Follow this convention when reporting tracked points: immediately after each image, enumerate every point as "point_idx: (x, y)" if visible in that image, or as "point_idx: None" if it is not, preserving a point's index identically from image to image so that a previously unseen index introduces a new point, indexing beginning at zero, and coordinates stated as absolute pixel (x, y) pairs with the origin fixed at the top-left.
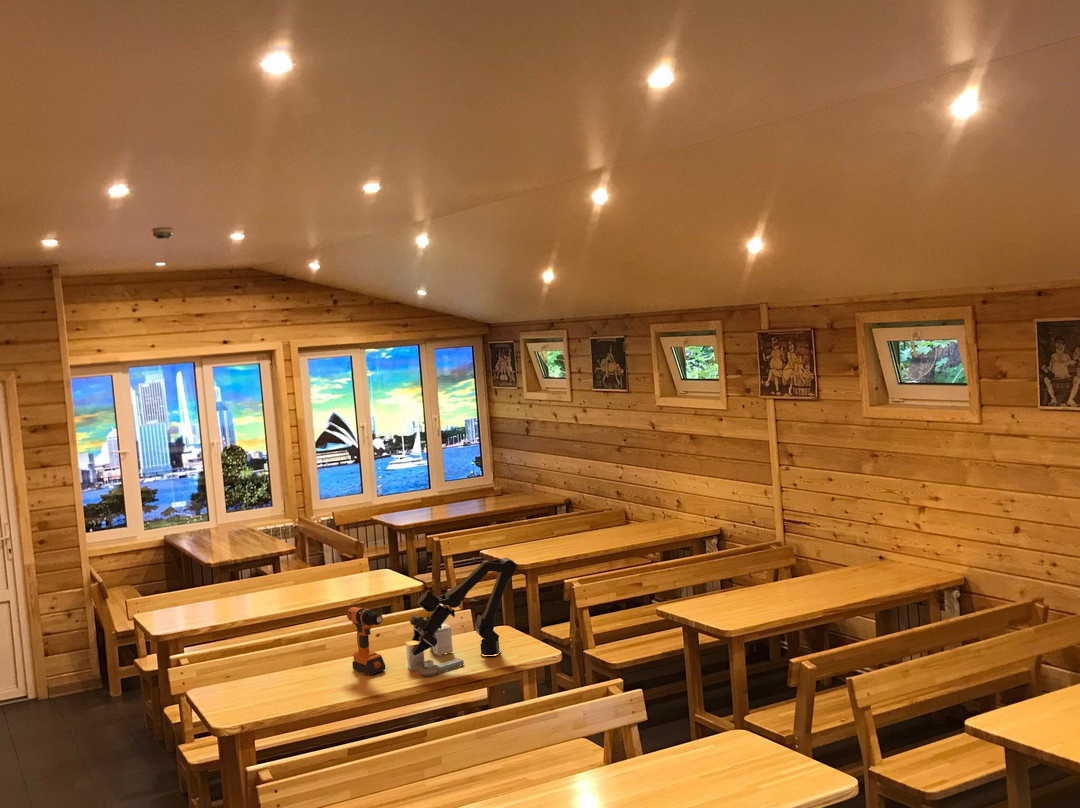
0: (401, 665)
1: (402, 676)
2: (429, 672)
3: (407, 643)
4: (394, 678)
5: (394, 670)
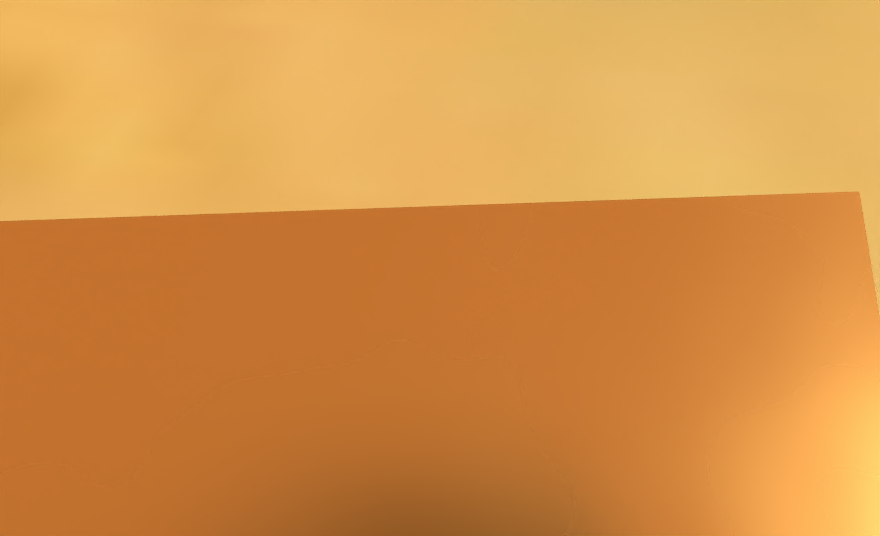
0: None
1: (59, 181)
2: None
3: (478, 240)
4: (37, 38)
5: (522, 98)
